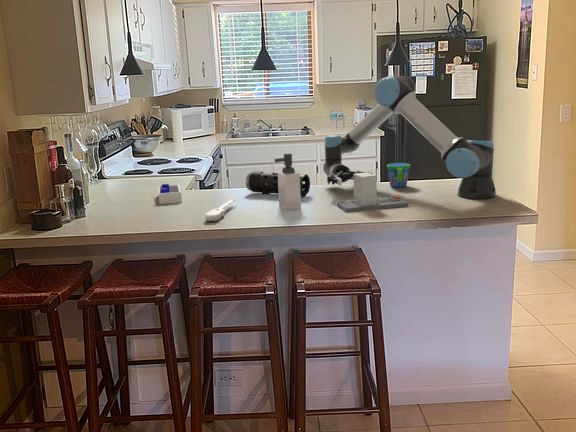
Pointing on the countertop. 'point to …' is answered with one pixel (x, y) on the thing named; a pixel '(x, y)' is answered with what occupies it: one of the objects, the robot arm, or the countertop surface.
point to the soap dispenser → (288, 185)
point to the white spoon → (217, 212)
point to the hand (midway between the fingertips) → (356, 181)
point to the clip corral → (170, 195)
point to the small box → (365, 189)
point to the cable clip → (165, 188)
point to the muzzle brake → (272, 183)
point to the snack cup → (398, 174)
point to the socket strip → (381, 204)
